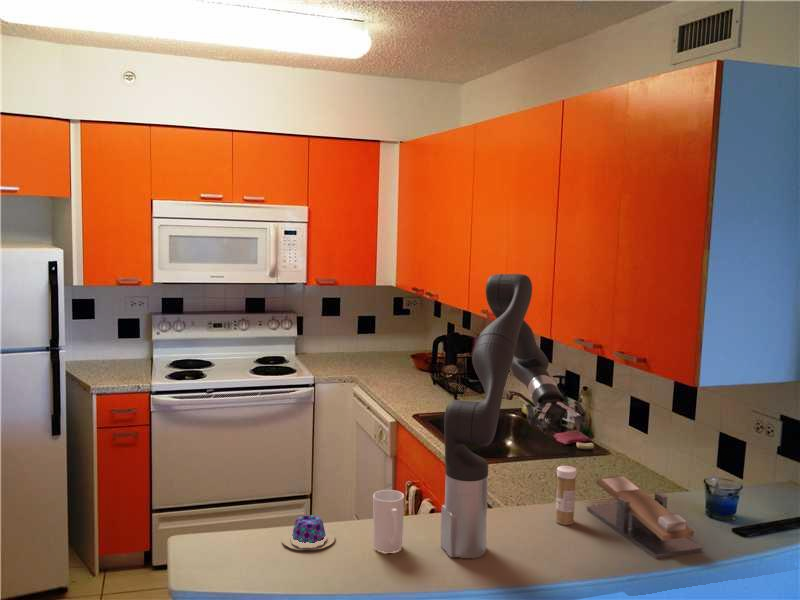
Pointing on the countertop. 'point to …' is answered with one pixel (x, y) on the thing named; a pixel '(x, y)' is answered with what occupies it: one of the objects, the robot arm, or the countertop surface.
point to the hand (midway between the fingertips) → (564, 430)
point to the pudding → (308, 529)
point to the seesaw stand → (642, 529)
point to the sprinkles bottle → (565, 495)
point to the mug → (388, 520)
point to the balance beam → (646, 508)
